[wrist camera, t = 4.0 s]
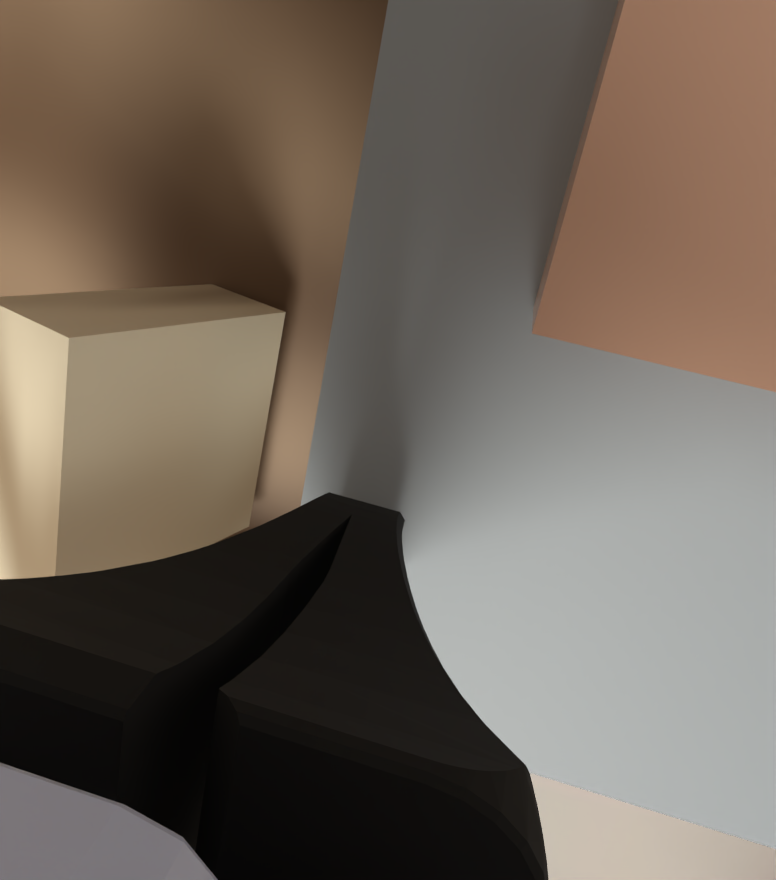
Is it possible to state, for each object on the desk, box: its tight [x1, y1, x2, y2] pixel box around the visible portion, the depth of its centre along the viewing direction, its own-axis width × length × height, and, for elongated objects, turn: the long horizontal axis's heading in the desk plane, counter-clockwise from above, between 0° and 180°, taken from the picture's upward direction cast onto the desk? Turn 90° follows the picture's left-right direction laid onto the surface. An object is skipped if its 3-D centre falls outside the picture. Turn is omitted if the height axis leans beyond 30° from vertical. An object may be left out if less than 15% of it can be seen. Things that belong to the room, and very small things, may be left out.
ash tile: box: [0, 284, 286, 579], centre depth 14 cm, size 5×5×2 cm
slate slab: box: [301, 0, 776, 849], centre depth 13 cm, size 16×10×4 cm, turn 168°
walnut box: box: [0, 0, 388, 543], centre depth 14 cm, size 18×12×3 cm
